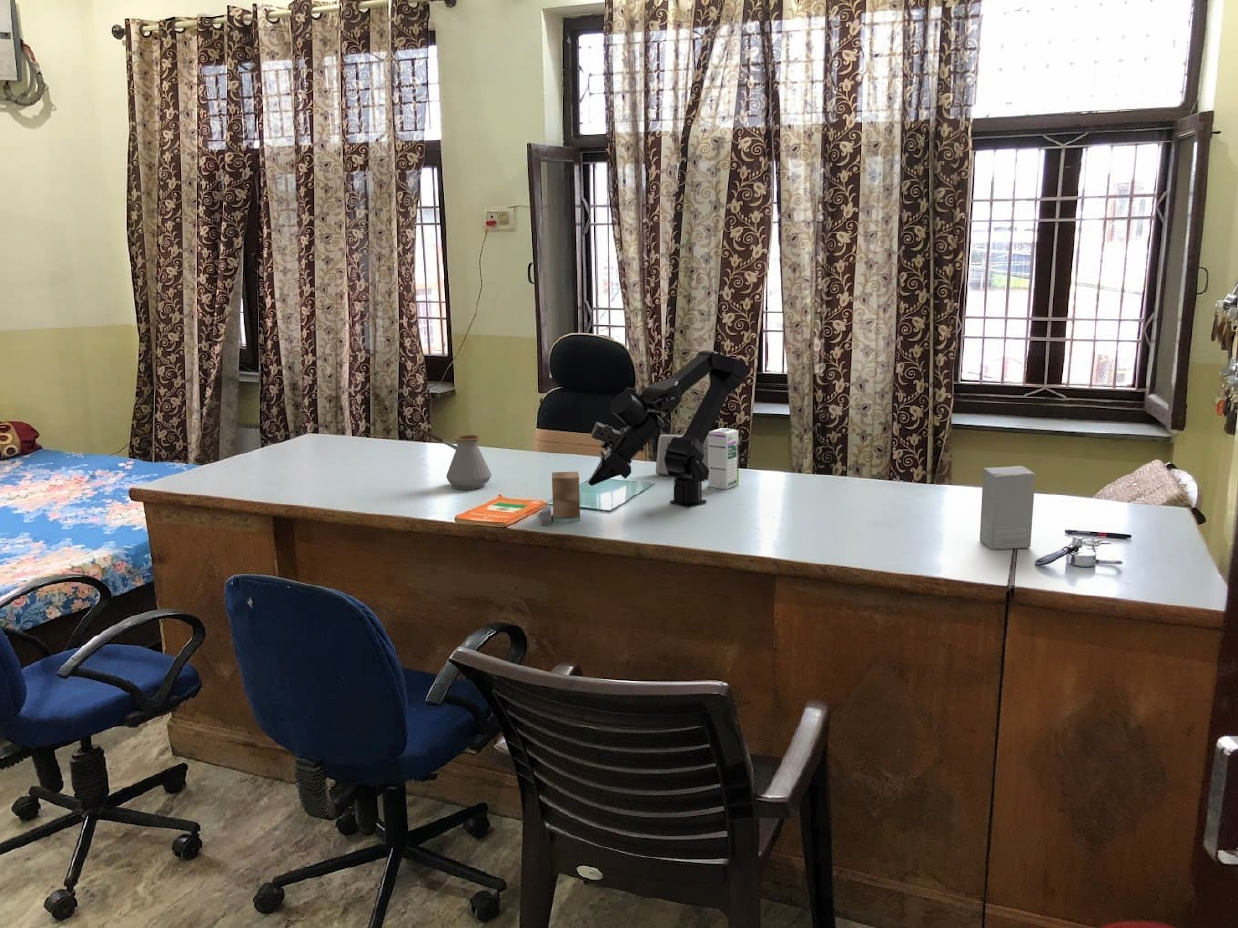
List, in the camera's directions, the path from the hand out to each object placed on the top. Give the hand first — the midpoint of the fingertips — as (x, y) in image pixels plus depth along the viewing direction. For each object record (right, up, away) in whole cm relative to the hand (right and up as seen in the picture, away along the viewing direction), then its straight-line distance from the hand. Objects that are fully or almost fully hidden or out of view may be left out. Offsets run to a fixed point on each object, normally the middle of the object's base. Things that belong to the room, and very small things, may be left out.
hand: (589, 484), depth 221 cm
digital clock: (+25, +1, +41) cm, 48 cm away
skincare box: (+84, -12, -24) cm, 88 cm away
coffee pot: (-37, -1, +34) cm, 50 cm away
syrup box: (+33, -1, +29) cm, 44 cm away
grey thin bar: (-10, -8, +1) cm, 13 cm away
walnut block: (-5, -8, +1) cm, 9 cm away
